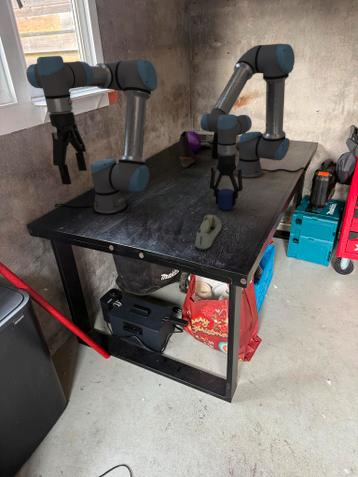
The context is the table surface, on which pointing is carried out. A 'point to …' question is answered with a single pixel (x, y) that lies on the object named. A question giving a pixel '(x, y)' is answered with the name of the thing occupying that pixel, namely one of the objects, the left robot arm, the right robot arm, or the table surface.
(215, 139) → the handbag
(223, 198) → the canister
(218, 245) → the table surface
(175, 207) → the table surface
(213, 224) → the ballet flat
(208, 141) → the pair of gloves
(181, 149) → the boot
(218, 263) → the table surface
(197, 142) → the decorative orb
